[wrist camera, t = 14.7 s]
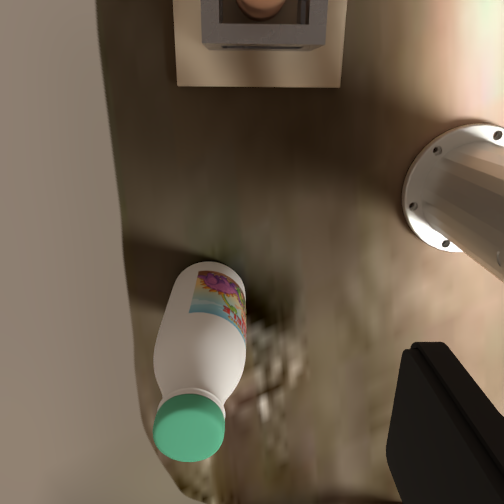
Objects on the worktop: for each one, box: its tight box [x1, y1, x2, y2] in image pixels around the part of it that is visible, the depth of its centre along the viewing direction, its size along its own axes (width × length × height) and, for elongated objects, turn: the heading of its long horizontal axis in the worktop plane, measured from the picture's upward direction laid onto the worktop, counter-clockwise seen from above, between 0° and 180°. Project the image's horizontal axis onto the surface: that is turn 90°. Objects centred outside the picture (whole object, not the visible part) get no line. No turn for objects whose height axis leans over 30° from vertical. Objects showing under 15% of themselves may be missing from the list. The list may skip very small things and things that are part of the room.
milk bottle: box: [153, 262, 246, 462], centre depth 36 cm, size 8×8×20 cm
